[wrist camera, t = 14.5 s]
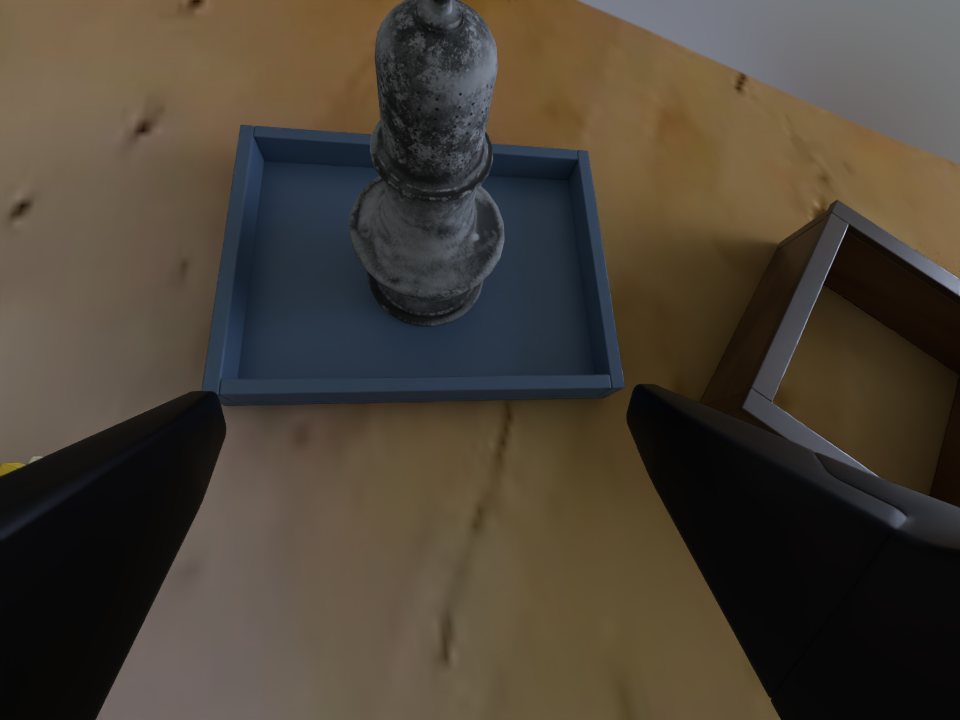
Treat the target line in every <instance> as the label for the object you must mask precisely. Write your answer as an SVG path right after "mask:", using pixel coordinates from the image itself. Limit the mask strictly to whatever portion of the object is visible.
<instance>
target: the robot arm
mask: <svg viewBox="0 0 960 720" xmlns="http://www.w3.org/2000/svg"><path fill="white" fill-rule="evenodd" d="M626 419H627V424H628V427H629V429H630V432H631V434H632V437H633V439H634V441H635V444H636V446H637V449H638V451H639V454H640V456H641V458H642V461H643V463H644V466H645V468H646V470H647V473H648V475H649V477H650V479H651V481H652V483H653V485H654V487H655V489H656V491H657V493H658V494H659V496H660V498H661V500H662V502H663V504H664V505H665V507H666V509H667V511H668V513H669V515H670V516H671V518H672V520H673V522H674V524H675V526H676V527H677V529H678V531H679V533H680V535H681V537H682V538H683V540H684V542H685V544H686V546H687V548H688V549H689V551H690V553H691V555H692V557H693V559H694V560H695V562H696V564H697V566H698V568H699V570H700V571H701V573H702V575H703V577H704V579H705V581H706V582H707V584H708V586H709V588H710V590H711V592H712V593H713V595H714V597H715V599H716V601H717V603H718V605H719V606H720V608H721V610H722V612H723V614H724V616H725V617H726V619H727V621H728V623H729V625H730V627H731V628H732V630H733V632H734V634H735V636H736V638H737V639H738V641H739V643H740V645H741V647H742V649H743V650H744V652H745V654H746V656H747V658H748V660H749V661H750V663H751V665H752V667H753V669H754V671H755V672H756V674H757V676H758V678H759V680H760V682H761V683H762V685H763V687H764V689H765V691H766V693H767V694H768V696H769V697H770V698H772V699H771V702H772V704H773V706H774V708H775V710H776V712H777V713H778V715H779V717H780V719H781V720H960V508H959V507H956V506H953V505H951V504H948V503H946V502H943V501H940V500H938V499H935V498H932V497H930V496H927V495H924V494H922V493H919V492H916V491H914V490H911V489H908V488H906V487H903V486H900V485H898V484H895V483H893V482H890V481H887V480H885V479H882V478H880V477H877V476H875V475H872V474H869V473H867V472H864V471H862V470H860V469H857V468H855V467H852V466H850V465H847V464H845V463H842V462H840V461H837V460H835V459H833V458H830V457H828V456H825V455H823V454H821V453H818V452H815V453H814V452H813V451H812V450H811V449H808V448H806V447H804V446H801V445H799V444H796V443H794V442H792V441H789V440H787V439H784V438H782V437H780V436H777V435H775V434H773V433H770V432H768V431H765V430H763V429H761V428H758V427H756V426H753V425H751V424H749V423H746V422H744V421H741V420H739V419H737V418H734V417H732V416H729V415H727V414H725V413H722V412H720V411H717V410H715V409H713V408H710V407H708V406H705V405H703V404H701V403H698V402H696V401H694V400H691V399H689V398H686V397H684V396H682V395H679V394H677V393H674V392H672V391H670V390H667V389H665V388H662V387H660V386H658V385H655V384H638V385H636V386H635V387H634V389H633V392H632V396H631V399H630V403H629V407H628V410H627V416H626ZM225 436H226V423H225V419H224V415H223V411H222V407H221V404H220V400H219V397H218V395H217V393H215V392H214V391H192V392H189V393H187V394H185V395H182V396H180V397H178V398H176V399H173V400H171V401H169V402H167V403H164V404H162V405H160V406H158V407H155V408H153V409H151V410H149V411H146V412H144V413H142V414H140V415H137V416H135V417H133V418H131V419H128V420H126V421H124V422H122V423H119V424H117V425H115V426H113V427H110V428H108V429H106V430H104V431H101V432H99V433H97V434H95V435H92V436H90V437H88V438H86V439H83V440H81V441H79V442H77V443H74V444H72V445H70V446H68V447H65V448H63V449H61V450H59V451H56V452H54V453H52V454H50V455H47V456H45V457H43V458H41V459H38V460H36V461H34V462H32V463H29V464H27V465H25V466H23V467H20V468H18V469H16V470H14V471H11V472H9V473H7V474H5V475H2V476H0V720H96V718H97V716H98V714H99V712H100V710H101V708H102V706H103V704H104V702H105V700H106V698H107V695H108V693H109V691H110V689H111V687H112V685H113V683H114V681H115V679H116V677H117V675H118V673H119V671H120V669H121V667H122V665H123V663H124V661H125V659H126V657H127V655H128V653H129V651H130V649H131V647H132V645H133V642H134V640H135V638H136V636H137V634H138V632H139V630H140V628H141V626H142V624H143V622H144V620H145V618H146V616H147V614H148V612H149V610H150V608H151V606H152V604H153V602H154V600H155V598H156V596H157V594H158V592H159V590H160V587H161V585H162V583H163V581H164V579H165V577H166V575H167V573H168V571H169V569H170V567H171V565H172V563H173V561H174V559H175V557H176V555H177V553H178V551H179V549H180V547H181V545H182V543H183V541H184V539H185V537H186V534H187V532H188V530H189V528H190V526H191V524H192V522H193V520H194V518H195V516H196V514H197V512H198V510H199V508H200V505H201V503H202V501H203V498H204V496H205V493H206V491H207V488H208V485H209V482H210V479H211V476H212V473H213V471H214V468H215V465H216V462H217V459H218V456H219V453H220V450H221V448H222V445H223V442H224V439H225Z"/></svg>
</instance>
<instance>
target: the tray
mask: <svg viewBox="0 0 960 720" xmlns="http://www.w3.org/2000/svg"><path fill="white" fill-rule="evenodd" d="M371 136H372V135H369V134H356V133H343V132H330V131H316V130H303V129H290V128H276V127H263V126H255V127H254V126H248V125H241V126H240V133H239V140H238V146H237V153H236V160H235V167H234V174H233V180H232V187H231V194H230V201H229V208H228V214H227V221H226V228H225V235H224V242H223V249H222V255H221V262H220V269H219V276H218V283H217V289H216V296H215V303H214V310H213V317H212V324H211V330H210V337H209V344H208V351H207V358H206V364H205V371H204V378H203V385H202V391H214V392H215V393H217V395H218V397H219V400H220V404H222V405H225V406H235V405H282V404H330V403H378V402H425V401H473V400H521V399H568V398H605V397H607V396H609V395H611V394H613V393H615V392H617V391H619V390H621V389H623V388H625V384H624V377H623V371H622V365H621V358H620V352H619V346H618V339H617V333H616V327H615V320H614V314H613V307H612V301H611V295H610V288H609V282H608V276H607V269H606V263H605V257H604V250H603V244H602V237H601V231H600V225H599V218H598V212H597V206H596V199H595V193H594V186H593V180H592V174H591V167H590V161H589V155H588V151H582V150H577V151H576V150H569V149H555V148H542V147H529V146H515V145H502V144H492V147H493V162H492V165H491V169H490V172H489V175H488V176H487V178H486V179H485V181H484V182H483V183H482V185H481V187H482V188H483V189H485V190H486V191H487V192H488V194H489V195H490V196H491V198H492V199H493V201H494V202H495V204H496V205H497V206H498V209H499V212H500V215H501V217H502V220H503V223H504V239H505V240H504V244H503V248H502V253H501V257H500V259H499V260H498V262H497V264H496V265H495V267H494V269H493V270H492V272H491V273H490V274H489V275H488V276H487V277H486V278H485V279H484V281H483V285H482V289H481V293H480V296H479V297H478V299H477V300H476V302H475V304H474V305H473V307H472V308H471V309H470V310H469V311H468V312H466V313H465V314H464V315H463V316H462V317H460V318H458V319H456V320H454V321H452V322H450V323H447V324H443V325H438V326H416V325H413V324H409V323H405V322H402V321H401V320H399V319H397V318H395V317H393V316H392V315H390V314H389V313H388V312H387V311H386V310H384V309H383V308H382V307H381V306H380V305H379V304H378V302H377V300H376V299H375V297H374V295H373V294H372V292H371V289H370V285H369V281H368V277H367V273H368V271H367V270H366V269H365V268H364V267H363V266H362V264H361V262H360V261H359V259H358V257H357V256H356V254H355V252H354V250H353V246H352V242H351V238H350V234H349V223H350V213H351V210H352V208H353V205H354V203H355V200H356V198H357V196H358V195H359V194H360V193H361V192H362V190H363V189H364V188H365V187H366V185H367V184H368V183H370V182H371V181H372V180H374V179H375V178H377V177H378V176H379V174H378V172H377V171H376V169H375V167H374V165H373V162H372V158H371V154H370V141H371Z"/></svg>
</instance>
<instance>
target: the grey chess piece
mask: <svg viewBox="0 0 960 720" xmlns="http://www.w3.org/2000/svg"><path fill="white" fill-rule="evenodd" d="M375 64H376V75H377V86H378V97H379V107H380V118H381V120H380V121H379V123H378V124H377V125H376V126H375V129H374V131H373V133H372V136H371V141H370V154H371V158H372V162H373V165H374V167H375V169H376V171H377V172H378V174H379V176H378V177H377V178H375V179H374V180H372V181H371V182H370V183H368V184H367V185H366V187H365V188H364V189H363V190H362V192H361V193H360V194H359V195H358V196H357V198H356V200H355V203H354V205H353V208H352V210H351V213H350V223H349V234H350V238H351V242H352V246H353V250H354V252H355V254H356V256H357V257H358V259H359V261H360V262H361V264H362V266H363V267H364V268H365V269H366V270H367V271H368V273H367V277H368V281H369V285H370V289H371V292H372V294H373V295H374V297H375V299H376V300H377V302H378V304H379V305H380V306H381V307H382V308H383V309H384V310H386V311H387V312H388V313H389V314H390V315H392V316H393V317H395V318H397V319H399V320H401V321H402V322H405V323H409V324H413V325H416V326H438V325H443V324H447V323H450V322H452V321H454V320H456V319H458V318H460V317H462V316H463V315H464V314H465V313H466V312H468V311H469V310H470V309H471V308H472V307H473V305H474V304H475V302H476V300H477V299H478V297H479V296H480V293H481V289H482V285H483V281H484V279H485V278H486V277H487V276H488V275H489V274H490V273H491V272H492V270H493V269H494V267H495V265H496V264H497V262H498V260H499V259H500V257H501V253H502V248H503V244H504V240H505V239H504V223H503V220H502V217H501V215H500V212H499V209H498V206H497V205H496V204H495V202H494V201H493V199H492V198H491V196H490V195H489V194H488V192H487V191H486V190H485V189H483V188H482V187H481V185H482V183H483V182H484V181H485V179H486V178H487V176H488V175H489V172H490V169H491V165H492V162H493V147H492V144H491V142H490V139H489V136H488V134H487V133H486V126H487V121H488V116H489V110H490V105H491V100H492V95H493V90H494V85H495V79H496V74H497V46H496V43H495V41H494V38H493V36H492V33H491V31H490V29H489V27H488V25H487V24H486V22H485V21H484V20H483V18H482V17H481V16H480V15H479V14H478V13H477V12H475V11H474V10H473V9H472V8H471V7H469V6H467V5H466V4H464V3H462V2H460V1H458V0H405V1H404V2H402V3H400V4H398V5H396V6H395V7H394V8H393V9H392V10H391V11H390V12H389V14H388V15H387V16H386V18H385V19H384V20H383V22H382V24H381V26H380V28H379V30H378V32H377V39H376V47H375Z"/></svg>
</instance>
